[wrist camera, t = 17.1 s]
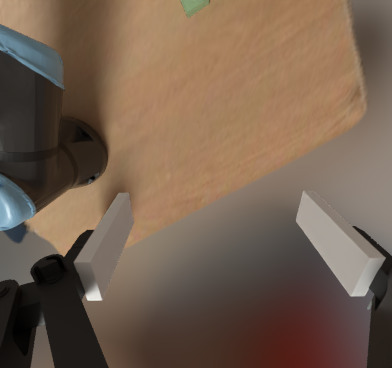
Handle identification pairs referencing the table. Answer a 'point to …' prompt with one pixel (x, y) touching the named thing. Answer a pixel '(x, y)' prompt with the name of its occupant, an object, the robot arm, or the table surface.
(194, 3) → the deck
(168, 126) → the table surface
